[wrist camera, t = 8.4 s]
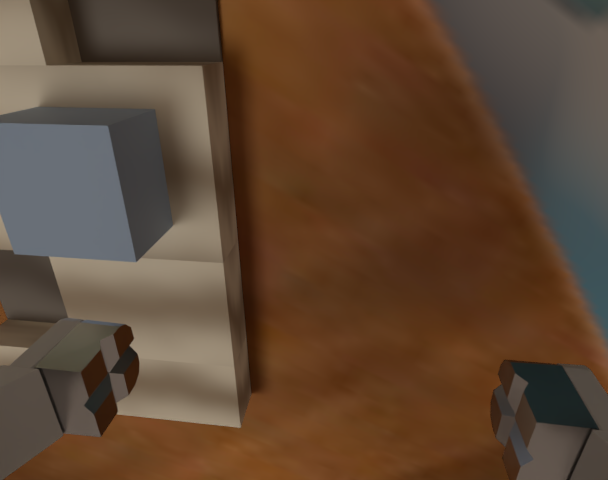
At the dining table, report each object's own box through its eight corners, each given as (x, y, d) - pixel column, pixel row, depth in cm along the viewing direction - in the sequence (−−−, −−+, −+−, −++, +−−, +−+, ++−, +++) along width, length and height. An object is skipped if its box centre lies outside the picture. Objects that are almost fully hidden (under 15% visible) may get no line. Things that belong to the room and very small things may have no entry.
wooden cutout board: (251, 394, 31) (240, 427, 28) (32, 372, 33) (4, 401, 31) (189, -324, 15) (152, -401, 13) (-223, -277, 17) (-330, -333, 15)
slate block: (173, 225, 22) (136, 262, 19) (69, 220, 23) (14, 254, 19) (154, 109, 19) (107, 125, 16) (37, 106, 20) (-33, 122, 17)
